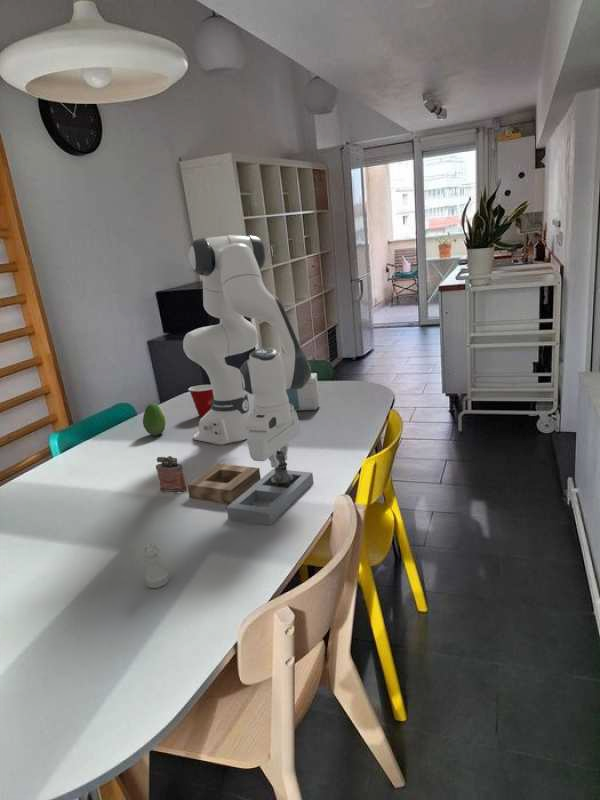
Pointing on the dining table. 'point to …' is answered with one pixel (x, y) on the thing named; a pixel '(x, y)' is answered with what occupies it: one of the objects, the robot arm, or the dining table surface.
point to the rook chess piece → (154, 568)
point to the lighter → (170, 475)
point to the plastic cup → (202, 398)
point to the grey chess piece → (281, 473)
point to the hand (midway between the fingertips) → (279, 463)
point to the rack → (269, 498)
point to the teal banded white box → (305, 395)
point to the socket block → (223, 483)
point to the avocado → (153, 420)
